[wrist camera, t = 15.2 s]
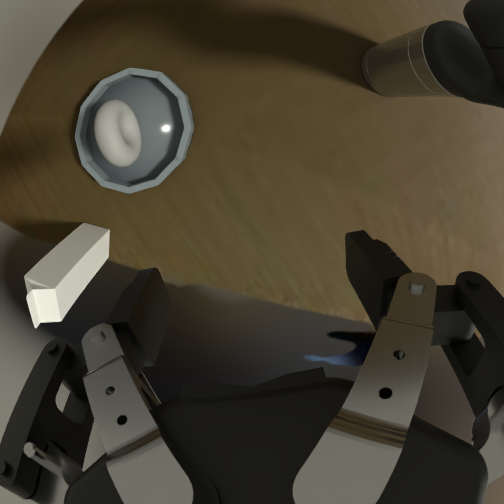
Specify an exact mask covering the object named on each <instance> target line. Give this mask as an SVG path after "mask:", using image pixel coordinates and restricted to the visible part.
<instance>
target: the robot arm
mask: <svg viewBox="0 0 504 504" xmlns="http://www.w3.org/2000/svg"><path fill="white" fill-rule="evenodd" d="M463 14H464V18H465V20H466V22H467V24H468V26H469V28H470V29H468V28H467V27H466V26H464V25H462V24H460V23H458V22H455V21H448V20H446V21H440V22H437V23H434V24H431V25H428V26H425V27H422V28H419V29H417V30H414V31H411V32H408V33H406V34H403V35H401V36H398V37H396V38H393V39H391V40H388V41H386V42H384V43H381V44H379V45H377V46H374V47H372V48H370V49H369V50H367V51H366V52H365V54H364V55H363V58H362V63H361V67H362V72H363V76H364V78H365V80H366V82H367V83H368V84H369V86H370V87H371V88H372V89H373V90H374V91H376V92H377V93H379V94H381V95H383V96H386V97H416V96H436V97H463V98H465V99H467V100H469V101H472V102H475V103H481V104H487V105H492V106H497V107H501V108H504V0H470V1H469V2H468V3H467V4H466V5H465V7H464V10H463ZM345 246H346V271H347V275H348V279H349V281H350V283H351V284H352V286H353V288H354V290H355V292H356V293H357V295H358V297H359V299H360V301H361V303H362V305H363V306H364V308H365V310H366V312H367V314H368V316H369V318H370V320H371V322H372V324H373V326H374V328H375V330H376V332H377V333H376V336H375V338H374V341H373V343H372V345H371V348H370V350H369V352H368V355H367V357H366V359H365V361H364V364H363V366H362V368H361V370H360V372H359V375H358V377H357V379H356V381H352V380H348V379H344V378H338V377H325V373H324V369H323V367H321V368H316V369H311V370H306V371H300V372H295V373H289V374H286V375H283V376H280V377H278V378H275V379H272V380H270V381H267V382H264V383H261V384H258V385H255V386H250V387H247V386H237V385H228V384H220V383H205V384H187V385H183V387H182V393H181V395H179V396H176V397H173V398H171V399H169V400H167V401H165V402H163V403H160V402H159V400H158V398H157V396H156V395H155V393H154V392H153V390H152V388H151V386H150V384H149V383H148V381H147V379H146V377H145V376H144V374H143V373H142V371H141V370H142V367H143V366H154V364H155V361H156V357H157V354H158V350H159V347H160V344H161V340H162V337H163V334H164V331H165V327H166V324H167V321H168V318H169V315H170V312H171V299H170V296H169V294H168V291H167V289H166V287H165V284H164V282H163V279H162V277H161V274H160V272H159V270H158V269H157V268H150V269H144V270H140V271H139V272H138V274H137V276H136V277H135V279H134V281H133V282H132V283H131V284H130V285H129V286H128V287H127V288H125V289H124V291H123V292H122V294H121V296H120V299H119V300H118V301H117V303H116V305H115V306H114V308H113V310H112V312H111V313H110V315H109V317H108V319H107V321H106V323H105V324H100V325H97V326H95V327H93V328H92V329H90V330H89V331H88V332H87V333H86V334H85V336H84V338H83V340H82V343H81V344H78V345H75V346H72V347H70V346H69V344H68V343H67V341H66V340H65V339H64V338H57V339H54V340H52V341H51V342H49V343H48V344H47V345H46V346H45V347H44V349H43V351H42V352H41V354H40V356H39V358H38V360H37V362H36V363H35V365H34V367H33V369H32V371H31V373H30V375H29V377H28V379H27V381H26V383H25V385H24V387H23V389H22V391H21V394H20V396H19V398H18V400H17V403H16V405H15V407H14V410H13V412H12V414H11V417H10V419H9V422H8V424H7V427H6V430H5V432H4V435H3V438H2V441H1V444H0V485H1V486H2V487H4V488H5V489H7V490H9V491H10V492H12V493H14V494H16V495H18V496H19V497H20V498H22V499H23V500H25V501H27V502H29V503H31V504H484V499H485V495H486V489H487V485H488V484H490V483H491V482H493V481H494V480H496V479H497V478H499V477H500V476H502V475H503V474H504V297H503V296H502V295H501V294H500V293H499V292H498V291H497V290H496V288H495V287H494V286H493V285H492V284H491V283H490V282H489V281H488V280H487V279H486V278H485V277H484V276H482V275H481V274H479V273H476V272H472V271H465V272H462V273H460V274H459V275H458V276H457V278H456V282H455V285H441V286H438V285H436V283H435V281H434V280H433V279H432V278H431V277H429V276H428V275H425V274H422V273H413V272H412V271H411V270H410V269H409V268H408V267H407V266H406V264H405V263H404V262H403V261H402V260H401V259H400V258H399V257H398V256H397V255H396V253H395V252H393V250H392V249H391V248H390V247H389V246H388V245H387V244H386V243H384V242H382V241H380V240H377V239H376V240H373V239H372V238H371V237H370V236H369V235H368V234H367V233H366V232H365V231H364V230H360V231H355V232H349V233H346V236H345ZM475 328H477V329H478V331H479V332H480V334H481V335H482V337H483V339H484V342H485V348H484V347H483V346H482V344H481V342H480V341H479V339H478V337H477V336H476V334H475V333H474V331H475ZM434 345H441V347H442V349H443V351H444V352H445V354H446V356H447V358H448V360H449V362H450V364H451V366H452V368H453V370H454V372H455V374H456V376H457V378H458V380H459V382H460V384H461V386H462V388H463V390H464V392H465V394H466V397H467V399H468V401H469V403H470V406H471V408H472V410H473V413H474V415H475V419H474V422H473V425H472V438H471V442H472V444H473V446H472V445H471V444H469V443H467V442H465V441H463V440H461V439H459V438H457V437H455V436H453V435H451V434H449V433H448V432H446V431H444V430H442V429H440V428H438V427H436V426H434V425H432V424H430V423H428V422H427V421H425V420H423V419H421V418H419V417H417V416H415V415H414V414H413V413H414V410H415V407H416V404H417V400H418V397H419V393H420V390H421V386H422V383H423V379H424V375H425V370H426V366H427V362H428V357H429V353H430V347H431V346H434ZM61 383H63V385H64V386H65V387H66V388H67V389H68V390H69V391H70V394H69V396H68V399H67V402H66V405H65V407H64V410H63V413H62V412H61V411H60V410H59V409H58V408H57V405H56V402H55V398H56V394H57V392H58V390H59V387H60V385H61ZM94 419H95V422H96V425H97V428H98V431H99V434H100V436H101V439H102V442H103V445H104V447H105V450H106V453H105V454H104V455H103V456H101V457H100V458H99V459H98V460H97V461H96V462H95V463H93V464H92V465H91V466H90V467H89V468H88V469H87V470H86V471H84V472H83V470H82V468H83V463H84V458H85V454H86V450H87V446H88V441H89V437H90V433H91V430H92V425H93V422H94Z"/></svg>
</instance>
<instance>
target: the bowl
mask: <svg viewBox="0 0 504 504" xmlns="http://www.w3.org/2000/svg"><path fill="white" fill-rule="evenodd" d="M114 99H115V100H120V101H123V102H125V103H126V104H127V105H128V106H129V107H130V108H131V110H132V111H133V113H134V114H135V116H136V119H137V121H138V124H139V127H140V132H141V151H140V153H139V156H138V158H137V159H136V160H135V161H134V162H133V163H132V164H131V165H129V166H125V167H118V166H115V165H113V164H111V163H110V162H109V161H108V160H107V159H106V158H105V157H104V156H103V154H102V152H101V151H100V149H99V147H98V144H97V141H96V137H95V131H94V124H95V118H96V115H97V111H98V110H99V109H100V107H101V106H102V105H103V104H104V103H105V102H107V101H111V100H114ZM193 130H194V124H193V113H192V109H191V106H190V103H189V101H188V97H187V95H186V94H185V93H184V92H183V91H182V89H181V88H180V87H179V86H178V85H177V84H176V83H174V82H173V81H172V80H171V79H170V78H169V77H168V76H167V75H165V74H164V73H162V72H157V71H151V70H144V69H137V68H128V69H126V70H123V71H121V72H119V73H116V74H114V75H112V76H110V77H108V78H105V79H103V80H101V81H100V82H99V84H98V85H97V86H96V87H95V89H94V90H93V91H92V92H91V94H90V95H89V96H88V97H87V99H86V100H85V101H84V103H83V104H82V106H81V109H80V113H79V117H78V122H77V127H76V132H75V140H76V144H77V148H78V152H79V156H80V159H81V163H82V165H83V167H84V168H85V169H86V170H87V171H88V172H89V173H90V174H91V175H92V177H93V178H94V179H95V180H96V181H97V182H98V183H99V184H100V185H101V186H103V187H106V188H110V189H114V190H117V191H121V192H125V193H128V194H130V193H133V192H137V191H140V190H143V189H147V188H150V187H154V186H158V185H159V184H160V183H162V182H163V181H164V180H165V179H166V178H167V176H168V175H169V174H170V173H171V172H173V171H174V170H175V169H176V168H177V166H178V165H179V164H180V163H181V162H182V161H183V160H184V159H185V156H186V153H187V151H188V149H189V146H190V144H191V140H192V136H193Z"/></svg>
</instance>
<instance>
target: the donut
mask: <svg viewBox="0 0 504 504" xmlns="http://www.w3.org/2000/svg"><path fill="white" fill-rule="evenodd" d="M94 131H95V137H96V141H97V144H98V147H99V149H100V151H101V152H102V154H103V156H104V157H105V158H106V159H107V160H108V161H109V162H110V163H111V164H113V165H115V166H118V167H125V166H129V165H131V164H132V163H133V162H134V161H135V160H136V159H137V158H138V156H139V153H140V151H141V132H140V127H139V124H138V121H137V119H136V116H135V114H134V113H133V111H132V110H131V108H130V107H129V106H128V105H127V104H126V103H125V102H123V101H120V100H115V99H114V100H111V101H107V102H105V103H104V104H103V105H102V106H101V107H100V109H99V110H98V111H97V115H96V118H95V124H94Z"/></svg>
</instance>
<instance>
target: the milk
mask: <svg viewBox="0 0 504 504" xmlns="http://www.w3.org/2000/svg"><path fill="white" fill-rule="evenodd" d="M109 235H110V230H109V229H106V228H102V227H98V226H94V225H91V224H87V223H83V224H81V225H80V226H79V227H78V228H76V229H75V230H74V231H73V232H72V233H71V234H69V235H68V236H67V237H66V238H65V239H64V240H62V241H61V242H60V243H59V244H58V245H57V246H56V247H55V248H53V249H52V250H51V251H50V252H49V253H48V254H47V255H46V256H45V257H44V258H43V259H41V260H40V261H39V262H38V263H37V264H36V265H35V266H34V267H33V268H32V269H31V270H30V271H29V272H28V273H27V274H26V275H25V276H24V278H25V283H26V287H27V292H28V294H27V302H28V306H29V310H30V313H31V317H32V320H33V324H34V326H35V328H37V327H38V325H39V324H40V323H41V322H60V321H62V319H63V317H64V316H65V315H66V313H67V312H68V310H69V309H70V308H71V305H73V303H74V302H75V301H76V299H77V298H78V296H79V295H80V294H81V292H82V291H83V290H84V288H85V287H86V285H87V284H88V283H89V282H90V280H91V279H92V278H93V276H94V275H95V274H96V273H97V271H98V270H99V269H100V267H101V266H102V265H103V264H104V262H105V261H106V260H107V259H108V257H109Z"/></svg>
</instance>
